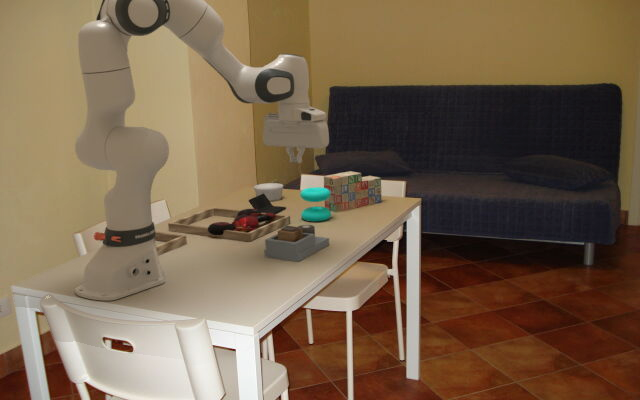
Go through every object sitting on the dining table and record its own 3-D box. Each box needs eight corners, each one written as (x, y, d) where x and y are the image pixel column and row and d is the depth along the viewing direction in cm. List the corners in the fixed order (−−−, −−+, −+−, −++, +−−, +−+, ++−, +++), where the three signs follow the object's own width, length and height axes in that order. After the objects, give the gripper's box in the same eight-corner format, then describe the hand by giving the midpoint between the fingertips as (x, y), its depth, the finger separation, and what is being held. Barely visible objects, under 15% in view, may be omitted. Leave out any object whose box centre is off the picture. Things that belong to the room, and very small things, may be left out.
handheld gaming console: (277, 212, 225) (260, 188, 226) (262, 224, 227) (245, 201, 228) (288, 208, 236) (272, 186, 237) (273, 220, 238) (257, 198, 239)
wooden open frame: (249, 241, 196) (248, 233, 196) (168, 230, 212) (168, 223, 211) (290, 223, 215) (289, 215, 215) (213, 214, 231) (213, 207, 231)
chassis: (298, 261, 176) (297, 243, 175) (264, 256, 182) (263, 239, 180) (329, 244, 190) (328, 228, 189) (297, 240, 196) (296, 224, 195)
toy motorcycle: (204, 240, 203) (248, 236, 196) (201, 223, 202) (245, 219, 195) (246, 222, 225) (287, 218, 218) (244, 207, 224) (284, 203, 217)
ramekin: (253, 197, 256) (252, 183, 255) (281, 195, 258) (281, 181, 257) (256, 203, 246) (255, 189, 244) (285, 201, 248) (285, 187, 246)
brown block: (293, 250, 179) (292, 230, 178) (278, 248, 182) (277, 228, 181) (303, 245, 184) (302, 226, 182) (288, 243, 186) (287, 224, 185)
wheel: (309, 238, 186) (308, 229, 186) (294, 236, 189) (293, 227, 188) (318, 234, 190) (317, 225, 190) (303, 232, 193) (303, 223, 192)
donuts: (333, 191, 214) (304, 194, 212) (334, 220, 217) (305, 223, 214) (325, 185, 224) (297, 188, 221) (326, 213, 226) (298, 216, 224)
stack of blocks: (370, 199, 245) (370, 167, 242) (381, 202, 240) (381, 169, 237) (324, 209, 233) (323, 175, 230) (335, 212, 228) (333, 177, 225)
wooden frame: (151, 258, 184) (150, 249, 184) (103, 250, 193) (102, 241, 193) (186, 243, 197) (186, 235, 196) (140, 236, 206) (139, 229, 205)
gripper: (257, 113, 185) (259, 162, 188) (319, 115, 174) (321, 166, 177) (269, 111, 190) (271, 159, 193) (331, 113, 180) (332, 163, 183)
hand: (295, 162), depth 185 cm, fingers closed
